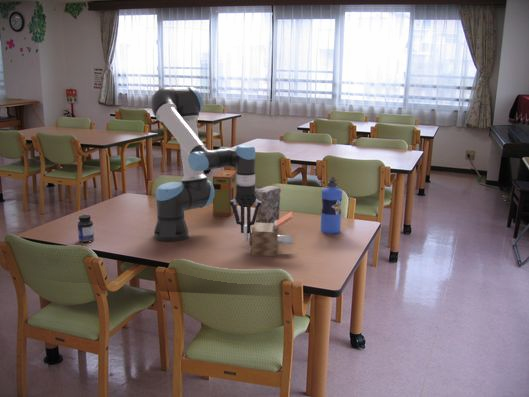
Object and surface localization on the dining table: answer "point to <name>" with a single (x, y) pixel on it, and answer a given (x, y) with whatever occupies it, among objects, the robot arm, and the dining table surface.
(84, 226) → the pill bottle
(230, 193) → the box
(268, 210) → the stone block
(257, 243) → the block
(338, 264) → the dining table surface
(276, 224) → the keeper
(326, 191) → the water bottle
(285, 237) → the pin
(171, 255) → the dining table surface
